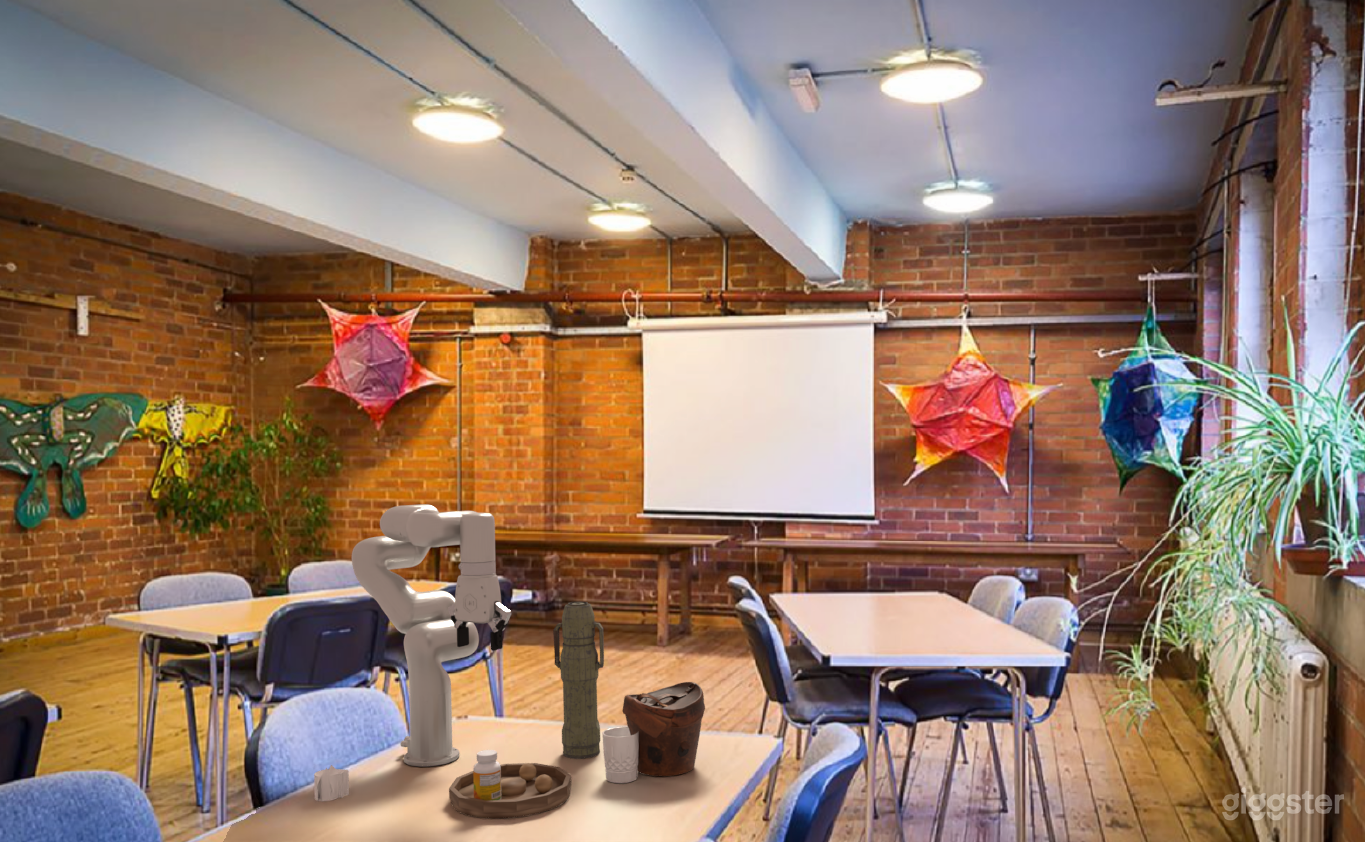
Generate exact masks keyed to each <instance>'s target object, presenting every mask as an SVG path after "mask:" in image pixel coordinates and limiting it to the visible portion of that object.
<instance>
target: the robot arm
mask: <svg viewBox="0 0 1365 842" xmlns="http://www.w3.org/2000/svg"><path fill="white" fill-rule="evenodd" d="M495 521H496V520H495V517H494V515H493V514H492V513H489V512H477V511H475V510H474V511H473V510H459V511H458V510H457V511H454V510H453V511H443V512H442V511H441V512H440V511H439V510H438V509H437V508H436V507H435V506H433V505H431V504H428V503H426V504H425V503H424V504H423V503H422V504H421V503H420V504H409V505H406V504H405V505H398V506H396V505H395V506H393V507H390V508H388V509H387V510H385V511H384V512H383V514H382V515H381V517H380V520H379V527H380V531H381V533H382V534H383V535H381V536H374V537H369V538H365V539H363V540H360V541H359V542H358V543H356V545H354V547H353V549H352V552H351V565H352V570H353V573H354V575H355V577H356V580H357V581H358V583H359V584H360V586H361V587H362V588H363V589H364V590H365V591H366V592H367V593H368V594H369V595H370V596H371V598H373V599H374V601H376V602H377V604H378V605H379V607H380V608H381V610H382V611H383V612H384V614H385V615H386V616H387V618H388V620H389V621H390V622H391V624H392V625H393V626H394V627H395V629H396V630H397V631H398V632H399V633H401V634H404V639H403V648H404V649H403V650H404V654H405V658H406V663H407V672H408V693H409V735H407V736H405V737H404V740H401V741H400V747H403V748H406V749H407V750H406V751H407V753H405V754H404V755H403V763H405V764H406V765H408V766H413V767H435V766H436V767H437V766H442V765H445V764H450V763H452V762H454V761H456V760H457V759H458V758H460V750H459V749H458V748H456V747H453V724H452V723H453V721H452V720H453V719H452V718H453V715H452V714H453V711H452V707H453V706H452V682H451V681H452V680H451V677H450V675H449V673H448V672H447V671H446V669H445V668H444V666H443V665H442V663H443V662H447V661H451V660H452V661H453V660H456V659H457V660H458V659H461V658H465V657H468V656H471V655H473V653H475V652H476V651H477V649H478V646H479V641H480V638H479V637H480V636H479V633H478V632H479V631H478V629H477V627H476V625H475V624H488V626H489V628H491V630H492V631H491V632H490V633H489V634H490V636H489V637H490V651H493V652H494V651H497V650H502V649H503V647H504V645H503V641H504V640H503V639H504V638H503V631H504V630H505V629H506V627H507V626H508V624H509V620H510V618H511V616H512V611H511V610H510V609H508V608H507V607H506V606H504V605H503V604H502V595H501V587H500V582H499V581H500V580H499V577H498V575H497V573H496V572H497V571H496V567H497V566H496V565H497V564H496V523H495ZM447 546H459V548H460V549H459V551H460V563H458V569H459V570H460V575H458V577H457V581H456V585H455V594H454V595H452V594H451V593H449V592H448V591H446V590H441V589H440V590H439V589H438V590H437V589H436V590H435V589H434V590H429V591H428V590H427V591H418V590H417V591H416V590H415V589H414V588H413V587H412V585H410V583H409V582H408V581H407V580H406V579H405V578H404V577H402V576H401V575H400V574H397V573H396V572H393V571H391V570H399V569H407V568H413V567H416V566H418V565H419V564H421V563H422V561H423V560H424V559H425V557H426V556H427V554H428V553H429V551H430V549H431V548H439V547H447Z"/></svg>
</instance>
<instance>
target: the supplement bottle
mask: <svg viewBox="0 0 1365 842" xmlns="http://www.w3.org/2000/svg"><path fill="white" fill-rule="evenodd" d="M476 762H477V763H475V764H474V765H473V768H472V771H473V777H474V798H476V799H481V800H501V766H500V765H501V764H500V762H499V761H498V752H497V750H494V749H484V750H480V751H478V752H477V753H476Z"/></svg>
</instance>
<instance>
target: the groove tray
mask: <svg viewBox="0 0 1365 842" xmlns="http://www.w3.org/2000/svg"><path fill="white" fill-rule="evenodd" d="M526 763H527V762H525V763H524V762H522V763H520V762H519V763H503V764H500V766H501V800H481V799H476V798H474V777H473V770H472V771H469V772H467V773H465V774H462V775H460V776H458V777H457V776H456V778H455V779H454V780H453V782H452V784H451V785H450V786H449V788H448V795H449V796H448V798H449V800H450V801H451V802H450V803H451V806H452V808H453V809H454V810H455V811H456V812H458V813H460V814H462V815H465V816H468V817H472V818H477V819H478V818H480V819H491V820H492V819H497V820H499V819H500V820H501V819H513V818H515V819H516V818H523V817H529V816H533V815H538V814H541V813H544V812H545V813H546V812H548V811H550V810H554V809H555V808H558V807H559V806H561V805H562V804H564V803H565V802H567V800H568V799H569V798H570V795H571V786H572V774H570V773H569V772H567V771H565V770H564V769H562V768H561V767H559V766H555V765H550V764H549V765H548V764H543V763H538V762H531V764H533V765H534V766H535V768H536V776H535V777H534V778H533V779H532V780H530V781H525V780H524V779H522V778H521V777H520V774H519V771H520V768H521V766H522V765H524V764H526ZM543 774H545V775H548V776H550V777H551V779H552V782H553V784H552V788H551V789H550V791H548V792H546V793H540V792H538V791H537V790H536V788H535V781H536V779H537V777H538V776H540V775H543Z"/></svg>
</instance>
